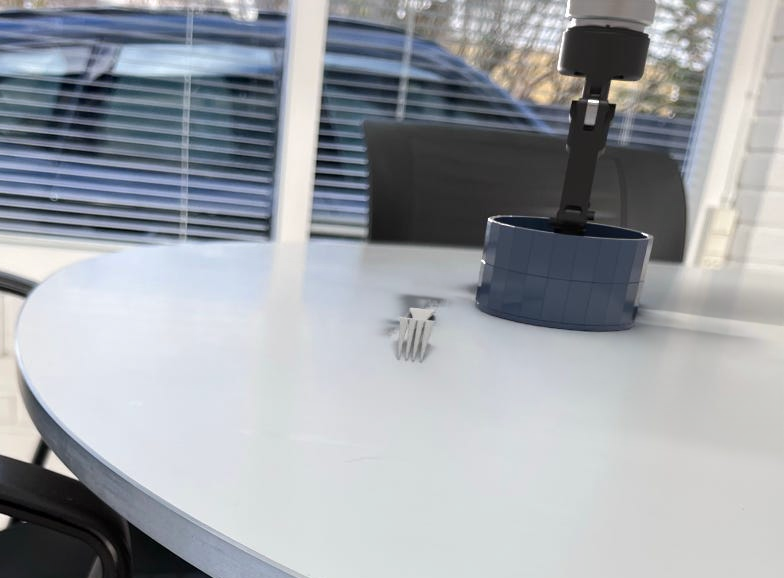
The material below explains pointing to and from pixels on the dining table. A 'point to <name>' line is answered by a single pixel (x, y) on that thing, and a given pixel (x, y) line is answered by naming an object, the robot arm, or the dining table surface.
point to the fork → (418, 323)
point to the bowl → (562, 274)
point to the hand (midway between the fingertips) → (558, 295)
